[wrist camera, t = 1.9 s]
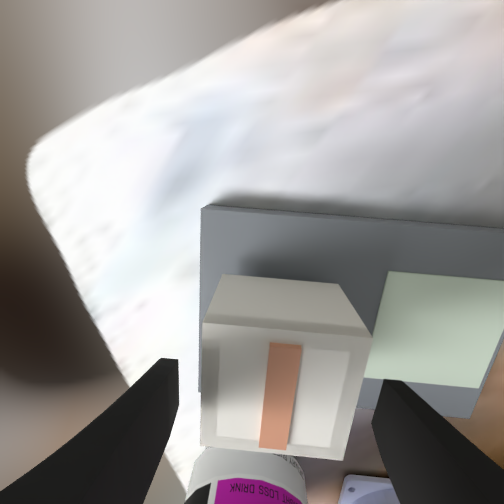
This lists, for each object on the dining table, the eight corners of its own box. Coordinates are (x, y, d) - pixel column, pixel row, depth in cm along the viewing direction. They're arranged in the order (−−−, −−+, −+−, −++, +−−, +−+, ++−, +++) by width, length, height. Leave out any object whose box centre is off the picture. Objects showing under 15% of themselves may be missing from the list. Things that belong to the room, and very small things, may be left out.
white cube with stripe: (320, 377, 14) (344, 466, 10) (218, 368, 14) (198, 451, 10) (338, 283, 12) (375, 342, 8) (222, 273, 12) (200, 325, 8)
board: (451, 397, 17) (470, 420, 15) (204, 373, 17) (198, 393, 16) (517, 229, 13) (549, 237, 12) (207, 204, 14) (200, 209, 12)
